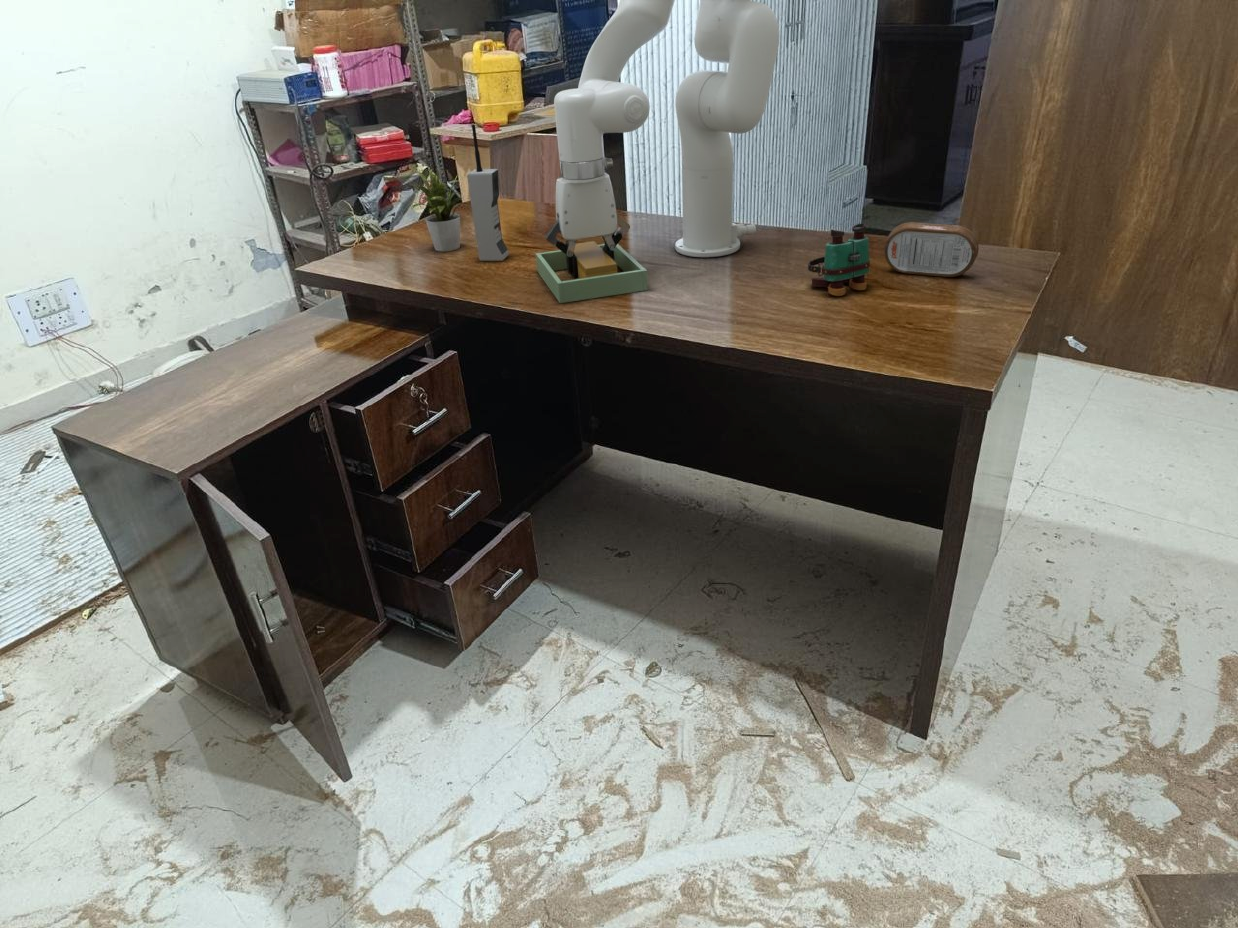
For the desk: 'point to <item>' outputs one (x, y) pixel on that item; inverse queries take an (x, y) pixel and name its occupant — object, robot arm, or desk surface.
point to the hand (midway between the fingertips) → (591, 272)
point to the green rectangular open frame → (591, 286)
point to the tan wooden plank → (593, 261)
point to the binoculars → (843, 262)
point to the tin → (931, 249)
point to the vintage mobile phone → (486, 210)
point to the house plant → (441, 214)
